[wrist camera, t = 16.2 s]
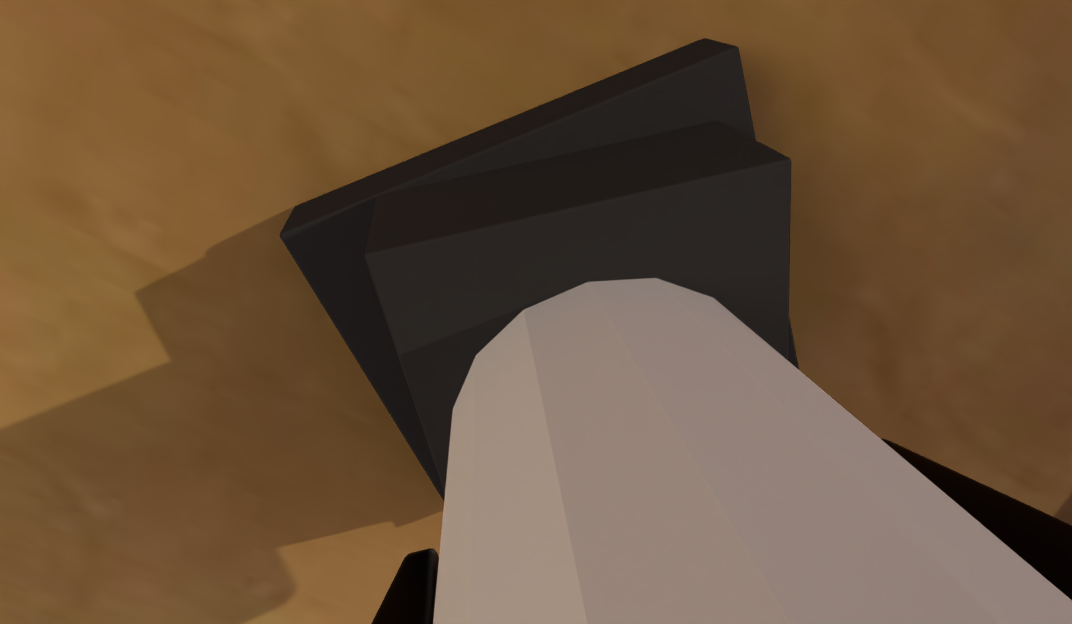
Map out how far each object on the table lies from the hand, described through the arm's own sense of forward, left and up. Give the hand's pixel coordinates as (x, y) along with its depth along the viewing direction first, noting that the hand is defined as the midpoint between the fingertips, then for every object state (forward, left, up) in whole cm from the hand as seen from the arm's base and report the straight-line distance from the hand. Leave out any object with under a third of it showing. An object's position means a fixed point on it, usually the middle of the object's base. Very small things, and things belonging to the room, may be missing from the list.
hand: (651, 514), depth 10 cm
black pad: (0, 0, -5) cm, 5 cm away
